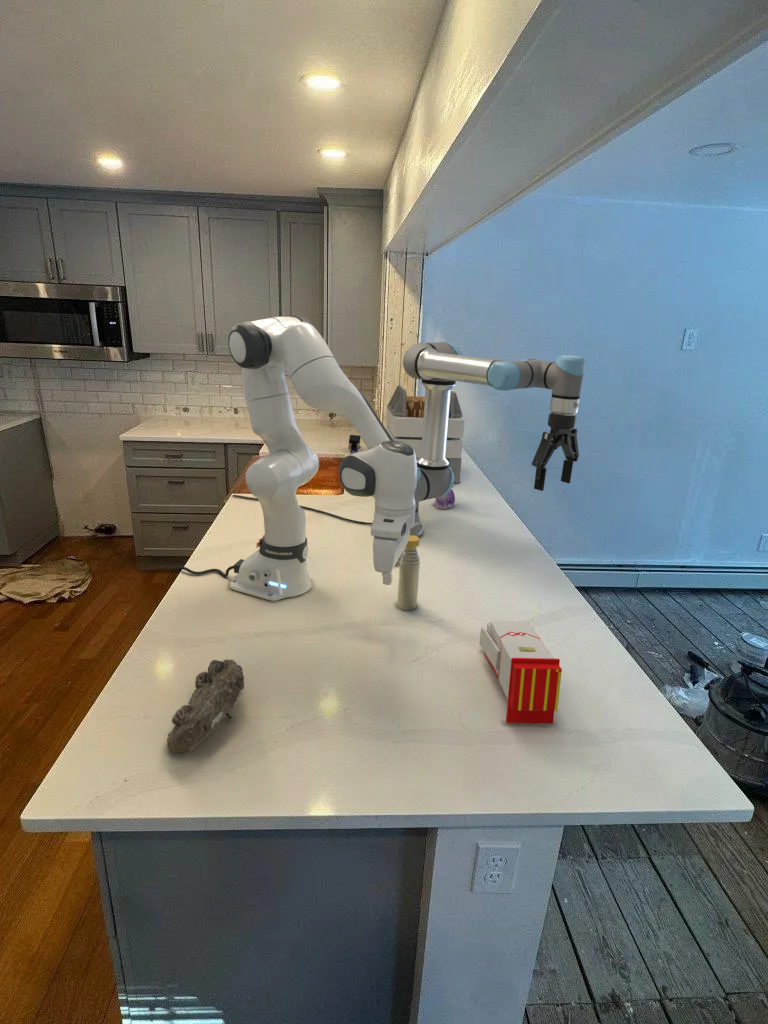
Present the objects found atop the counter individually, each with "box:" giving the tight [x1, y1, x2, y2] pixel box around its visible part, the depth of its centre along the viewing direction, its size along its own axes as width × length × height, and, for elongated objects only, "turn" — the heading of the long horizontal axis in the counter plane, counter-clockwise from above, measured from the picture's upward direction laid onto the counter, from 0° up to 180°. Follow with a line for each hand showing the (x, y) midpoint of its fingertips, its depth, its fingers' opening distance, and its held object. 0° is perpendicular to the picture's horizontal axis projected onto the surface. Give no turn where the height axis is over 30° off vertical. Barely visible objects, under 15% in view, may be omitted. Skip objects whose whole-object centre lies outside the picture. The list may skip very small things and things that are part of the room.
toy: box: [478, 620, 563, 725], centre depth 121 cm, size 12×13×30 cm
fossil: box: [166, 658, 245, 754], centre depth 106 cm, size 22×10×15 cm
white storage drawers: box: [385, 384, 465, 484], centre depth 268 cm, size 34×33×41 cm
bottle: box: [396, 547, 421, 611], centre depth 149 cm, size 5×5×19 cm
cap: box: [406, 535, 420, 548], centre depth 146 cm, size 4×4×2 cm
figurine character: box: [348, 434, 361, 454], centre depth 311 cm, size 7×8×15 cm
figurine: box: [434, 488, 456, 510], centre depth 228 cm, size 9×10×15 cm
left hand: (392, 574), depth 128 cm, fingers open, 8 cm apart
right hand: (552, 485), depth 166 cm, fingers open, 13 cm apart
